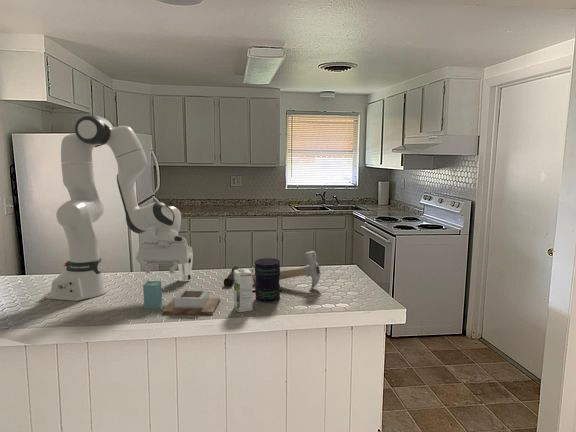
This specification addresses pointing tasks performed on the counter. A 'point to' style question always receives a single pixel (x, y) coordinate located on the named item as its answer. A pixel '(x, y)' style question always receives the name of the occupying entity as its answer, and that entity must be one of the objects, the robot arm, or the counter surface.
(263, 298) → the storage jar
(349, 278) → the counter surface
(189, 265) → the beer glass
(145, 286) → the teal peg
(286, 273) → the hammer
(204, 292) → the socket
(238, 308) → the syrup box
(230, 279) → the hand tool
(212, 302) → the walnut board
